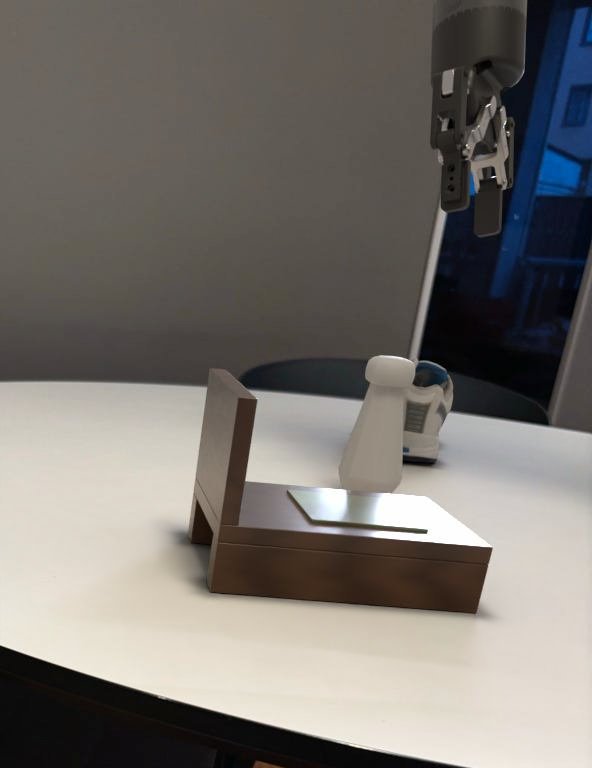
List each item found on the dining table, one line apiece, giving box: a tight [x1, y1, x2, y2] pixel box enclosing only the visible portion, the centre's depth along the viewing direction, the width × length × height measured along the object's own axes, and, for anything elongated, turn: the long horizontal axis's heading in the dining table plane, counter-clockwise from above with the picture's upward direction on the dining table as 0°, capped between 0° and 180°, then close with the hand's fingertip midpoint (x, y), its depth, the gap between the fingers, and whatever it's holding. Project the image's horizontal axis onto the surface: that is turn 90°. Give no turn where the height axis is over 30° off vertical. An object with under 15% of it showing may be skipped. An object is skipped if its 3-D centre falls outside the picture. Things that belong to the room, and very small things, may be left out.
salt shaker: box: [338, 355, 415, 494], centre depth 93 cm, size 6×6×13 cm
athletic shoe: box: [402, 356, 454, 463], centre depth 122 cm, size 10×23×12 cm, turn 174°
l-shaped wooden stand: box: [187, 367, 493, 614], centre depth 70 cm, size 18×13×13 cm
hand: (471, 223), depth 87 cm, fingers open, 8 cm apart
